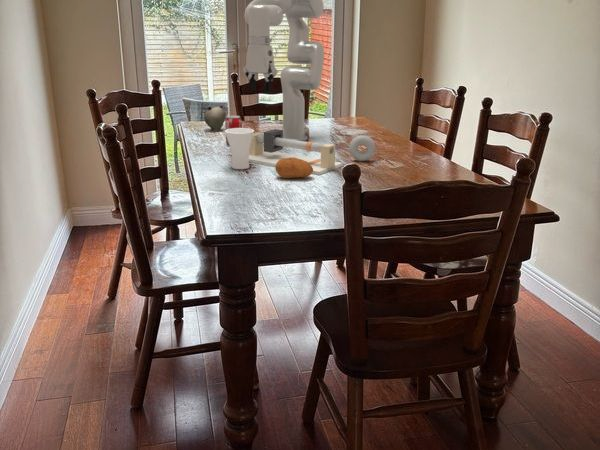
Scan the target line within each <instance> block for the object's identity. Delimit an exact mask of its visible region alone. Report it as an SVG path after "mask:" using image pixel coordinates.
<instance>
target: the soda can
mask: <svg viewBox="0 0 600 450" xmlns="http://www.w3.org/2000/svg"><path fill="white" fill-rule="evenodd" d="M224 123H225V126H224V127H225V130H227V129H232V128H243V122H242V118H241V116H240V115H235V114H234V115H233V114H231V115H226V118H225V120H224ZM225 130H224V131H225ZM225 142H226V145H228V146H230V145H229V142H228V139H227V136H226V135H225Z"/></svg>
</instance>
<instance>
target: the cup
mask: <svg viewBox="0 0 600 450" xmlns="http://www.w3.org/2000/svg"><path fill="white" fill-rule="evenodd" d="M254 132H255V129H252V128H247V127H242V128H232V129H227V130H224V133H225V137H226V136H227V139H228V142H229V145H228V146H229V148H230V149H229V150H230V152H231V160H232V161H231V169H234V170H247V169H249V168H250V162H249V149H250V144H251V141H252V137H253V134H254Z"/></svg>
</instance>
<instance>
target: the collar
mask: <svg viewBox="0 0 600 450" xmlns="http://www.w3.org/2000/svg"><path fill="white" fill-rule="evenodd" d="M263 135H264V143H263V150H264V152H270V153H272V152H280V151H282V150H284V146H277V145H273V137H278V138H283V129H276V128H275V129H270V130H267V131H263Z"/></svg>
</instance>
